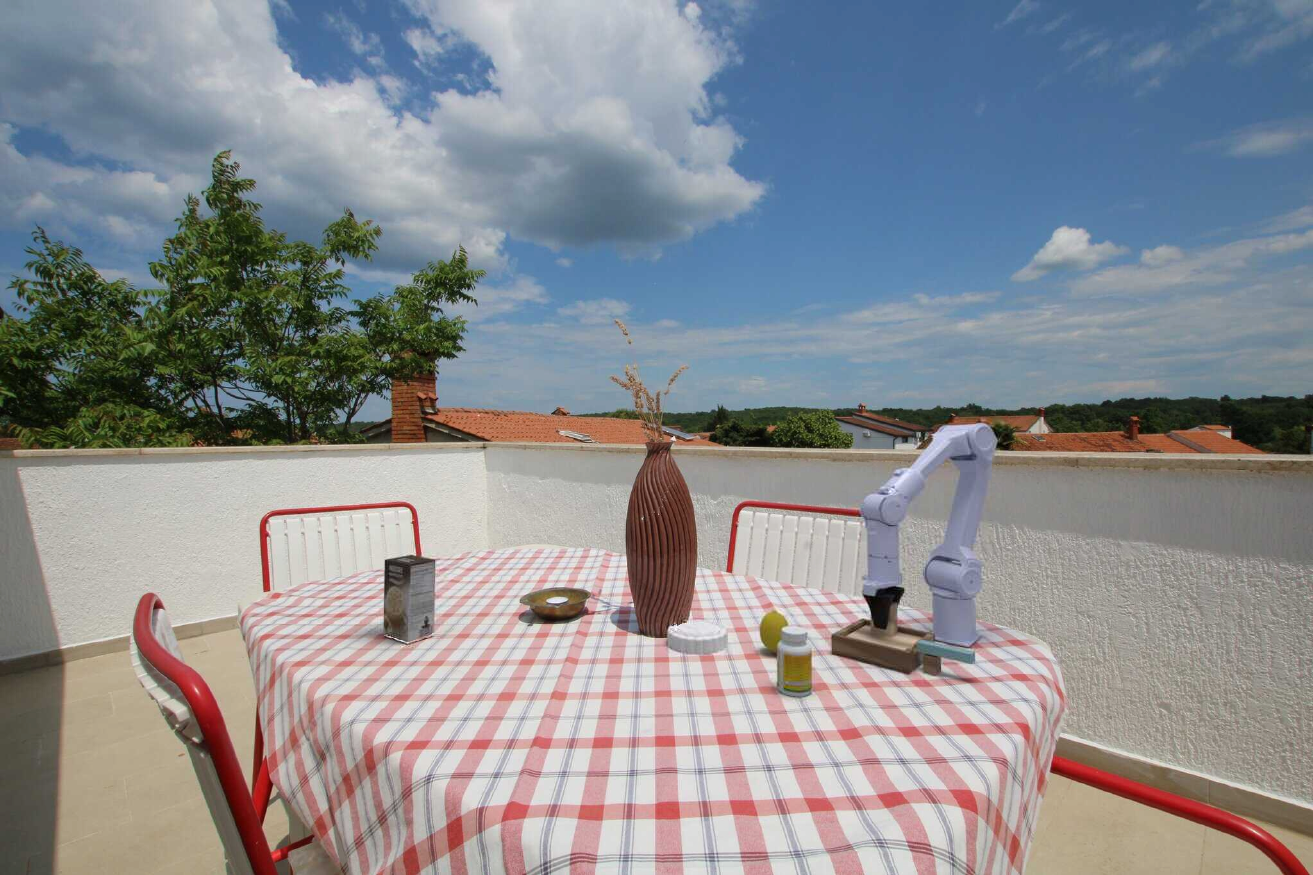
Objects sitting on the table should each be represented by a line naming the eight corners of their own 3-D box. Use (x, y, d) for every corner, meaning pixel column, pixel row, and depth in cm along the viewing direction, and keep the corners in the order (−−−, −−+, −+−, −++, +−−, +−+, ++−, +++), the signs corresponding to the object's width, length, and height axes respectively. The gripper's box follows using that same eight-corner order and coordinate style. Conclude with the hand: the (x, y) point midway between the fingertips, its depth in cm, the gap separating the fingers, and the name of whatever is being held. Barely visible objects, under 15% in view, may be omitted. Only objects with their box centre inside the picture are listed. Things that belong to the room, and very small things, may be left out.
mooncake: (740, 647, 107) (740, 629, 107) (692, 660, 100) (692, 641, 100) (701, 631, 117) (701, 614, 117) (655, 642, 110) (655, 624, 110)
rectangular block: (921, 648, 96) (921, 639, 96) (975, 661, 91) (975, 651, 91) (917, 651, 95) (917, 642, 95) (971, 664, 89) (971, 654, 89)
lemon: (790, 659, 100) (789, 615, 100) (759, 657, 101) (759, 613, 101) (789, 649, 105) (788, 607, 106) (760, 647, 106) (759, 605, 107)
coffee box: (381, 637, 113) (382, 559, 113) (409, 628, 118) (410, 554, 119) (407, 645, 108) (408, 563, 108) (436, 636, 113) (437, 558, 114)
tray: (862, 635, 113) (862, 618, 113) (955, 657, 101) (955, 637, 101) (831, 653, 103) (831, 634, 103) (930, 680, 91) (930, 658, 91)
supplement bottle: (770, 687, 88) (769, 627, 88) (796, 681, 90) (795, 622, 91) (792, 700, 83) (791, 637, 84) (819, 693, 86) (818, 632, 86)
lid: (866, 628, 111) (865, 595, 111) (925, 641, 103) (925, 606, 103) (841, 641, 103) (840, 606, 103) (903, 657, 95) (903, 619, 95)
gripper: (877, 548, 114) (878, 613, 114) (846, 558, 104) (847, 630, 103) (912, 552, 109) (913, 621, 109) (884, 563, 99) (885, 638, 99)
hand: (884, 626), depth 106 cm, fingers closed on lid, 3 cm apart
